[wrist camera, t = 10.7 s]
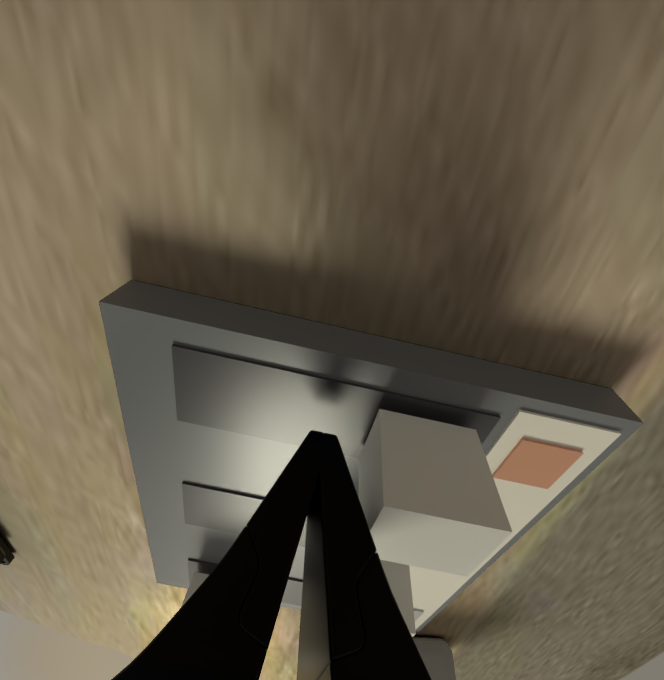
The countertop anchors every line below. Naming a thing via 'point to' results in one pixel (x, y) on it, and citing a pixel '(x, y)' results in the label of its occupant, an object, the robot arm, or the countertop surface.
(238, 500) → the switch housing
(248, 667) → the robot arm
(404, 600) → the switch tab
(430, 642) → the electrical switch
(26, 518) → the countertop surface
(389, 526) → the switch tab
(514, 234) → the countertop surface
